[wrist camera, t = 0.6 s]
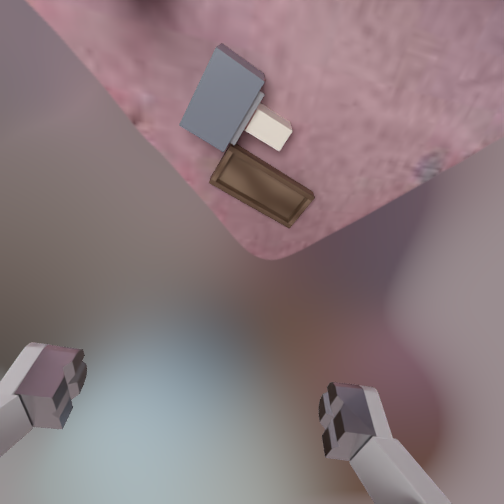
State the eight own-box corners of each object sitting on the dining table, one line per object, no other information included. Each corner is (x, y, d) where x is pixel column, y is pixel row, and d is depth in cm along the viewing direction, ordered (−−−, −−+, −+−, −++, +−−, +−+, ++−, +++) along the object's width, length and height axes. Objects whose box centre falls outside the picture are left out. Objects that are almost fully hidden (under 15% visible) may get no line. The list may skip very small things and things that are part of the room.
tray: (231, 141, 45) (230, 145, 44) (312, 191, 49) (314, 197, 48) (210, 177, 48) (209, 182, 47) (288, 221, 53) (289, 228, 51)
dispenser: (221, 43, 38) (216, 47, 33) (269, 77, 40) (270, 86, 35) (188, 112, 43) (179, 125, 38) (232, 139, 45) (229, 155, 40)
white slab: (217, 74, 40) (213, 80, 37) (289, 121, 44) (292, 131, 40) (207, 97, 42) (202, 104, 38) (277, 140, 45) (279, 151, 42)
